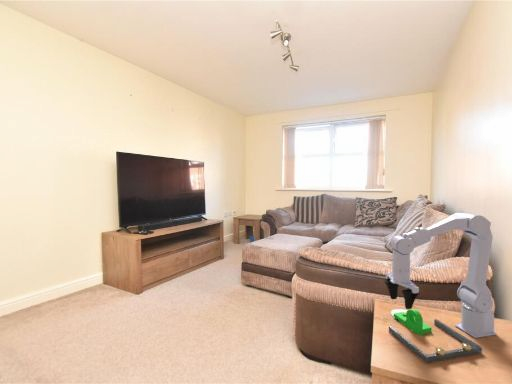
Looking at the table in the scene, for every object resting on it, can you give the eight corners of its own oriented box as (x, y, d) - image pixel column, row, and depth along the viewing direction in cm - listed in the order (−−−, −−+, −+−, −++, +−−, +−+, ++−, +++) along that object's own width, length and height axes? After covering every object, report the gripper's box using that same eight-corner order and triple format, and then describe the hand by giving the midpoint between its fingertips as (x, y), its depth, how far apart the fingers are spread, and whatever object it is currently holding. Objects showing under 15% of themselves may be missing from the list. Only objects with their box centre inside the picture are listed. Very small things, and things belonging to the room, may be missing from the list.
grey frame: (436, 324, 101) (436, 316, 100) (484, 354, 83) (484, 345, 83) (388, 331, 97) (388, 323, 97) (428, 365, 80) (428, 355, 79)
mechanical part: (431, 332, 96) (431, 311, 95) (418, 335, 94) (418, 314, 94) (405, 315, 107) (406, 297, 107) (393, 318, 106) (393, 299, 106)
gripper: (378, 263, 103) (378, 296, 104) (406, 276, 89) (406, 314, 90) (394, 261, 104) (394, 294, 105) (424, 274, 90) (423, 312, 91)
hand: (400, 303), depth 97 cm, fingers open, 7 cm apart
